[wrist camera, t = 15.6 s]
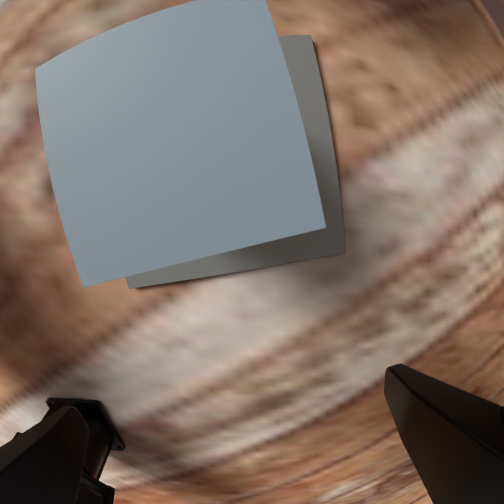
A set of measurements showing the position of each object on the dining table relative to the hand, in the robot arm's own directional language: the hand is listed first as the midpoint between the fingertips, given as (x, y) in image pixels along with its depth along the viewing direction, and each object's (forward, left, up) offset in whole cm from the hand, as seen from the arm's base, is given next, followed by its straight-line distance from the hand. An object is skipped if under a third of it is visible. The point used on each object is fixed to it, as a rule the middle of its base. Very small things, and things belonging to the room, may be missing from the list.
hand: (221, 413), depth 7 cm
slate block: (+7, 0, -4) cm, 8 cm away
